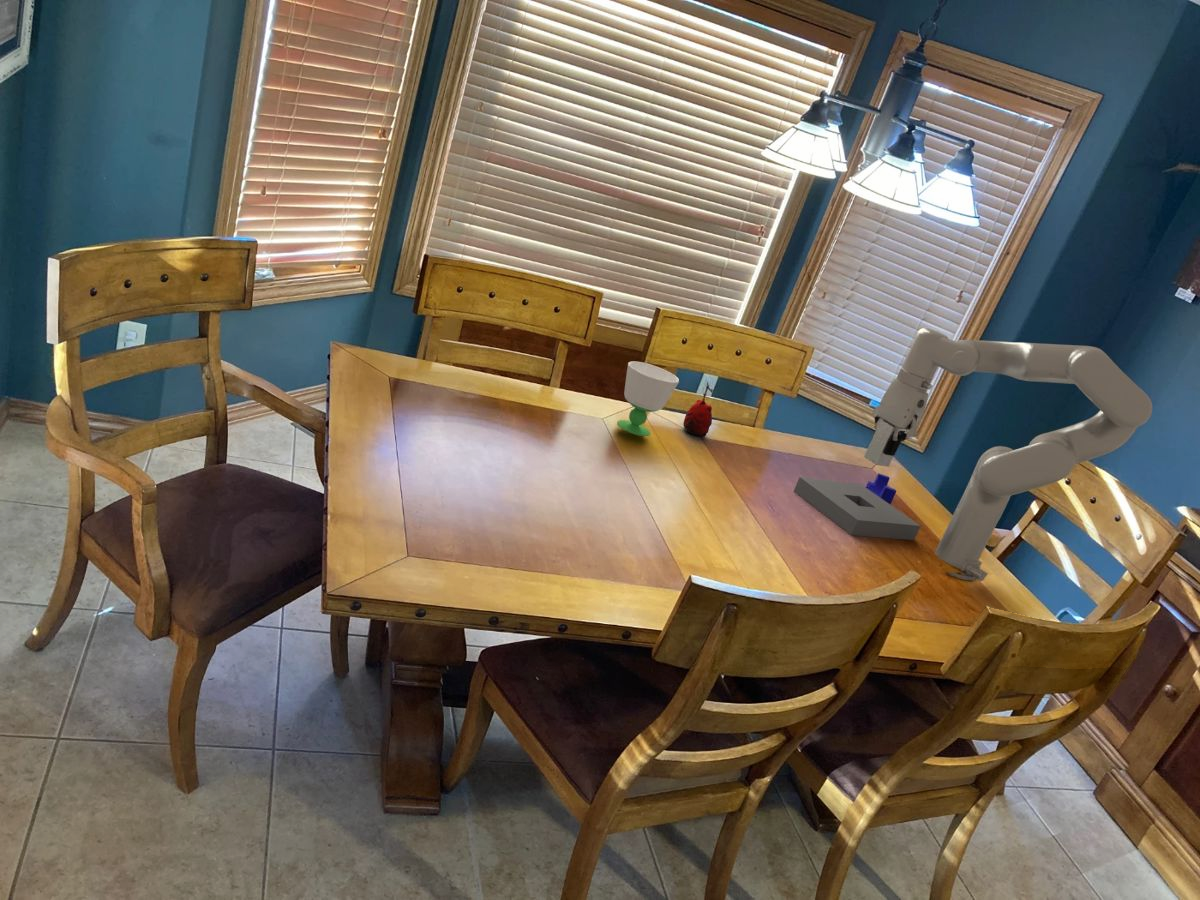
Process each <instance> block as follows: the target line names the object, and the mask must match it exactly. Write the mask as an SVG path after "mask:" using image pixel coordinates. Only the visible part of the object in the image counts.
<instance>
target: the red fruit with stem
mask: <svg viewBox="0 0 1200 900" xmlns="http://www.w3.org/2000/svg"><path fill="white" fill-rule="evenodd" d="M708 390H709V392H710V393H712V394H713V392H714V389H712V388H710V385H709V381H707V383H706V386H705V392H704V393H703V398H702V399H697V400H696V402H695V403H694V404H692V405H691V406H690V408H689V409H688V410H687V412H686V414H685V415H684V419H683V422H682V423H683V428H684V430H685V431H686V432H688V433H689V434H692V433H693V434H692V435H694V434H696V436H698V435H699V436H698V437H706V436H707V434H708V433H709V430H710V427H711V426H712V424H713V417H712V416H713V415H712V410H713V408H712V406H711V405H709V404H708V403H706V396H707V392H708Z"/></svg>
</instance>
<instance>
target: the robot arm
mask: <svg viewBox="0 0 1200 900" xmlns="http://www.w3.org/2000/svg"><path fill="white" fill-rule="evenodd" d="M938 368H940V369H943V370H944V371H946V372H948V373H950V374H951V375H953V376H957V377H964V376H968V375H970V374H971V373H973V372H975V373H987V374H988V373H990V374H998V375H999V374H1000V375H1004V376H1008V377H1012V378H1014V379H1017V380H1020V381H1026V382H1040V383H1055V384H1070V385H1075V386H1076V387H1077V388H1078V389H1079V391H1081V392H1082V393H1083V394H1084V395H1085V396H1086V397H1087V398H1088V399H1089V400H1090V401H1091V402H1092V404H1094V406H1095V407H1097V409H1099V411H1098V412H1097V413H1096V414H1095V415H1093V416H1092V417H1090V418H1088V419H1086V420H1083V421H1080V422H1077V423H1075V424H1071V425H1069V426H1066V427H1063V428H1062V427H1061V428H1059V429H1056V430H1052V431H1049V432H1045V433H1041V434H1039V435H1036V436H1035V437H1034V438H1033V439H1032V440H1031V441H1029V443H1028V445H1026V446H1023V447H1020V448H1017V449H1013V448H1010V447H1008V446H1002V445H999V446H997V445H996V446H993V447H991V448H989V449H987V450H986V451H985V452H983V453H982V454H981V455H980V457H979V458H978V461H977V463H976V464H975V468H974V470H973V472H972V474H971V477H970V479H969V481H968V484H967V486H966V488H965V490H964V492H963V494H962V496H961V498H960V500H959V502H958V504H957V505H956V507H955V510H954V512H953V514H952V516H951V519H950V520H949V522H948V524H947V527H946V529H945V530H944V533H943V535H942V537H941V539H940V541H939V543H938V546H937V547H936V549H935V551H934V553H935V556H937V557H938V558H939V559H940V560H942V561H943V562H945V563H947V564H948V565H950V566H952V567H954V568H957V569H959V570H960V571H962V572H946V571H945V572H944V574H948V575H950V576H951V577H954V578H957V579H960V580H963V581H968V582H974V581H976V580H978V581H979V582H982V581H984V580H985V578H986V577H987V575H988V573H987V572H986V571H985V570H983V569H981V565H982V564H983V562H982V561H981V560H980V558H981V556H982V554H983V552H984V550H985V549H986V546H987V544H988V542H989V540H990V539H991V536H992V535H993V532H994V530H995V528H996V526H997V524H998V522H999V521H1000V519H1001V517H1002V515H1003V513H1004V511H1005V509H1006V507H1007V505H1008V503H1009V500H1010V498H1011V496H1014V495H1018V494H1021V493H1025V492H1029V491H1031V490H1034V489H1035V490H1036V489H1039V488H1043V487H1045V486H1049V485H1052V484H1055V483H1057V482H1060V481H1062V480H1063V479H1065V478H1066V477H1068V476H1069V475H1070V474H1071V473H1072V472H1073V470H1074V468H1075V466H1076V465H1078V464H1081V463H1084V462H1087V461H1091V460H1093V459H1095V458H1099V457H1102V456H1104V455H1106V454H1109V453H1111V452H1113V451H1115V450H1117V449H1118V448H1120V447H1121V446H1123V445H1124V444H1125V443H1126V442H1128V440H1129V439H1130V438H1131V437H1132V435H1134V433H1135V431H1136V430H1137V429H1138V427H1140V426H1142V425H1144V424H1145V423H1147V421H1149V419H1150V417H1151V416H1152V413H1153V402H1152V400H1151V399H1150V397H1149V395H1148V394H1147V393H1145V391H1144V390H1142V388H1141V387H1139V386H1138V384H1136V383H1135V382H1134V381H1133V380H1132V379H1131V378H1130V377H1129V376H1128V375H1127V374H1126V373H1124V371H1123V370H1121V368H1119V366H1118V365H1117V364H1116V363H1115V362H1114V361H1113V360H1112V358H1110V356H1108V354H1107V353H1105V351H1103V350H1102V349H1101V348H1099V347H1096V346H1089V345H1077V344H1075V345H1073V344H1054V343H1037V342H1022V341H1021V342H1020V341H1019V342H1010V341H996V340H995V341H994V340H976V339H959V340H953V339H950V338H949V337H948V336H947V335H946V334H944V333H942V332H939V331H937V330H934V329H931V328H927V327H922V328H920V329H918V330H917V332H916V334H915V337H914V338H913V341H912V343H911V345H910V347H909V350H908V352H907V354H906V356H905V358H904V361H903V362H902V366H901V368H900V370H899V372H898V373H897V375H896V378H894V379H893V380H892V382H891V383H890V384H889V386H888V388H887V389H886V391H885V393H884V394H883V396H882V398H881V400H880V402H879V404H878V405H877V406H876V407H875V408H873V409H872V412H871V413H872V415H873V418H874V422H875V423H874V424H875V425H874V429H875V431H876V429H877V427H878V425H879V423H880V420H885V421H887V422H889V423H890V424H892V425H894V426H895V431H894V435H893V439H890V440H889V443H888V445H887V447H886V449H885V451H884V454H886V455H891V456H893V457H894V456H895V455H896V453H897V451H898V449H899V447H900V444H901V443H903V442H904V441H905V440H908V439H912V438H915V437H918V436H917V435H918V433H917V430H918V427H919V425H920V423H921V420H922V418H923V415H924V414H925V413H924V412H925V409H926V406H927V403H928V400H929V392H927V391H928V390H931V389H932V388H933V385H932V384H931V383H932V381H933V379H934V376H935V374H936V373H937V370H938ZM875 431H874V433H873V435H872V436H871V440H872V438H873V436H874V434H875ZM900 431H901V433H900ZM871 440H870V442H871ZM870 442H869V443H870ZM963 572H964V573H963Z"/></svg>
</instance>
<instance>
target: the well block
mask: <svg viewBox="0 0 1200 900" xmlns="http://www.w3.org/2000/svg"><path fill="white" fill-rule="evenodd" d="M793 492H794V493H795V494H797V495H798V496H800V498H802V499H803V500H804V501H806V502H807V503H808V504H810V505H811V506H813V507H814V508H815V509H816V510H817V511H819V512H820V513H822V514H823V516H825V517H827V518H828V519H829V520H831V521H832V522H833V523H834V524H835V525H837V526H838V527H840V528H841V529H842V530H844V532H846V533H847V534H849V535H851V536H857V537H869V538H871V537H872V538H883V539H895V540H905V541H907V540H908V541H915V539H916V537H917V535H918V532H919V531H920V529H921V527H922V525H920V523H918V522H916V521H915V520H913V519H912V518H910V517H909V516H907V515H906V514H904V513H903V512H902V511H900V510H899V509H897V508H895V507H894V506H893V505H892V504H889V503H887V502H886V501H884V500H883V499H881V498H880V497H879V496H877V495H876V494H874V493H873V492H871V491H870V490H868V489H867V488H866V486H864V485H863V484H861V483H851V482H846V481H845V482H843V481H837V480H836V481H835V480H829V479H828V480H827V479H820V478H819V479H818V478H811V477H802V476H799V478H798V479H797V482H796V485H795V487H794V489H793Z"/></svg>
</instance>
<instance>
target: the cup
mask: <svg viewBox="0 0 1200 900" xmlns="http://www.w3.org/2000/svg"><path fill="white" fill-rule="evenodd" d="M625 376H626V377H625V385H624V393H623V394H624V398H625V400H626V401H627V403H629V405H631V406H632V407H633V408H632V409H631V410H630V412H629V415H628V418H629V420H617V423H616V424H617V425H618V427H619V428H620V429H622V430H624V431H626V432H627V433H629V434H633V435H636V436H641V437H648V436H650V435H651V431H650V430H649V429H648V428H646V427H645V426H644V425H643V424H645V422H646V421H647V419H648V418H647V416H648V415H647V413H648V412H649V413H651V412H655V413H656V412H658V411H660V410H662V409H663V408H665V406H666V404H667V403H668V401H669V399H670V397H671V396H672V395H673V393H674V391H675V390H676V387H677V386H678V384H679V383H680V379H679V377H677V376H676V375H675V374H674V373H671V372H670V371H669V370H666V369H663V368H661V367H659V366H656V365H653V364H650V363H647V362H642V361H633V360H632V361H629V362H627V370H626V375H625Z"/></svg>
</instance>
